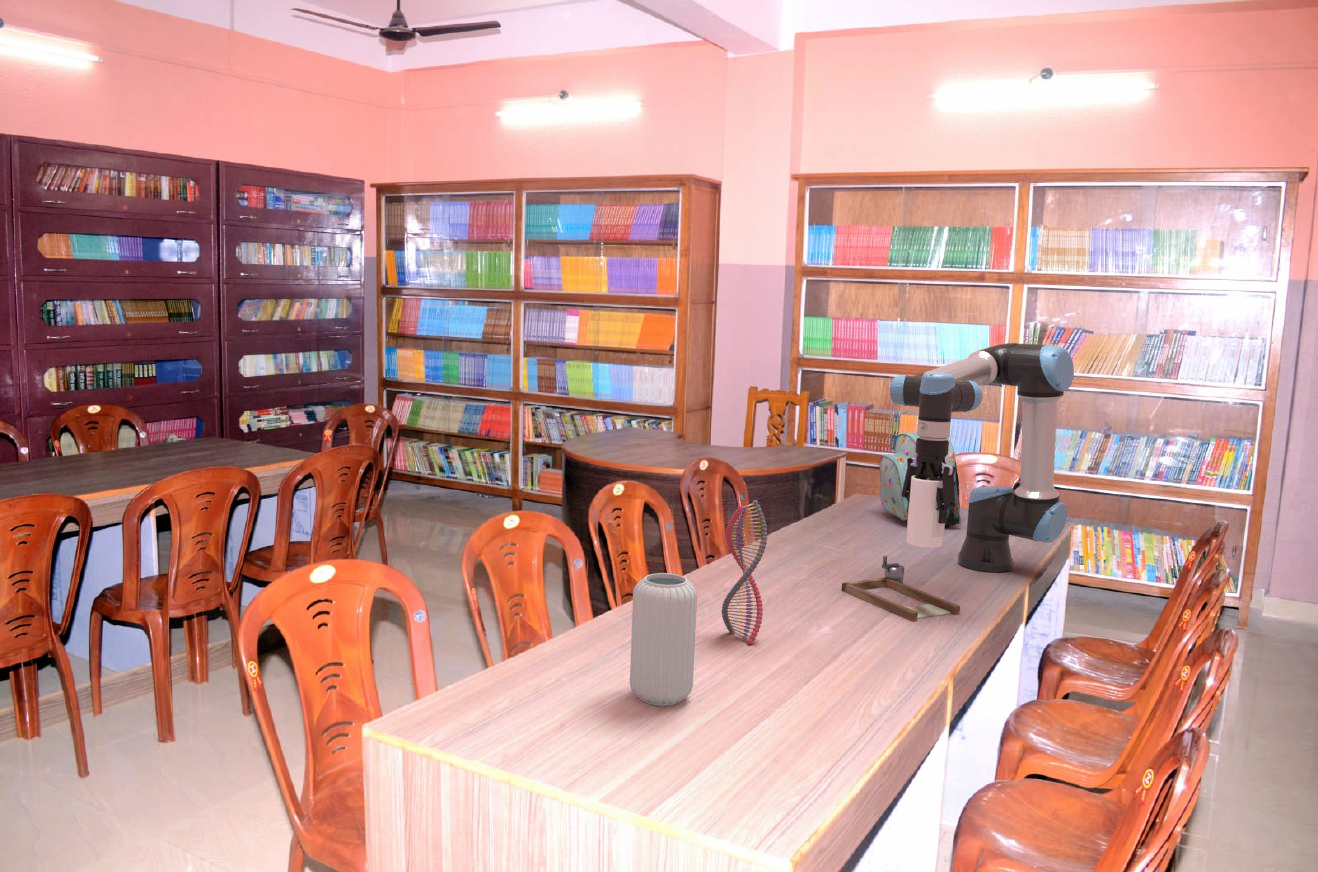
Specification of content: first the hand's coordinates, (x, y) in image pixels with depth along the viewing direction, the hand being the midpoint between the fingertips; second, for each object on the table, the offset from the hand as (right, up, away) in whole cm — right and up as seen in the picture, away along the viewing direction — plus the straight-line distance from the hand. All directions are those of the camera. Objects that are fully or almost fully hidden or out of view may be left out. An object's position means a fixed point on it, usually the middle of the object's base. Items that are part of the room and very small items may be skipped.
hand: (925, 532), depth 231 cm
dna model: (-46, -21, -23) cm, 55 cm away
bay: (-4, -18, +9) cm, 21 cm away
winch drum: (-2, -16, +24) cm, 29 cm away
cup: (0, -3, 0) cm, 3 cm away
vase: (-63, -25, -55) cm, 88 cm away
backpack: (+25, -7, +104) cm, 107 cm away
